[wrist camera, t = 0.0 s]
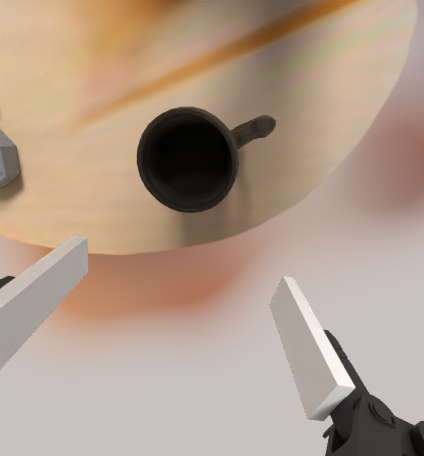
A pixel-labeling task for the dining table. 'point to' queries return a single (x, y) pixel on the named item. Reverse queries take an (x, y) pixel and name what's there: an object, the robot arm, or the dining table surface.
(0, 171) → the grey octagonal ring
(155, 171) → the beer stein
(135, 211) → the dining table surface
